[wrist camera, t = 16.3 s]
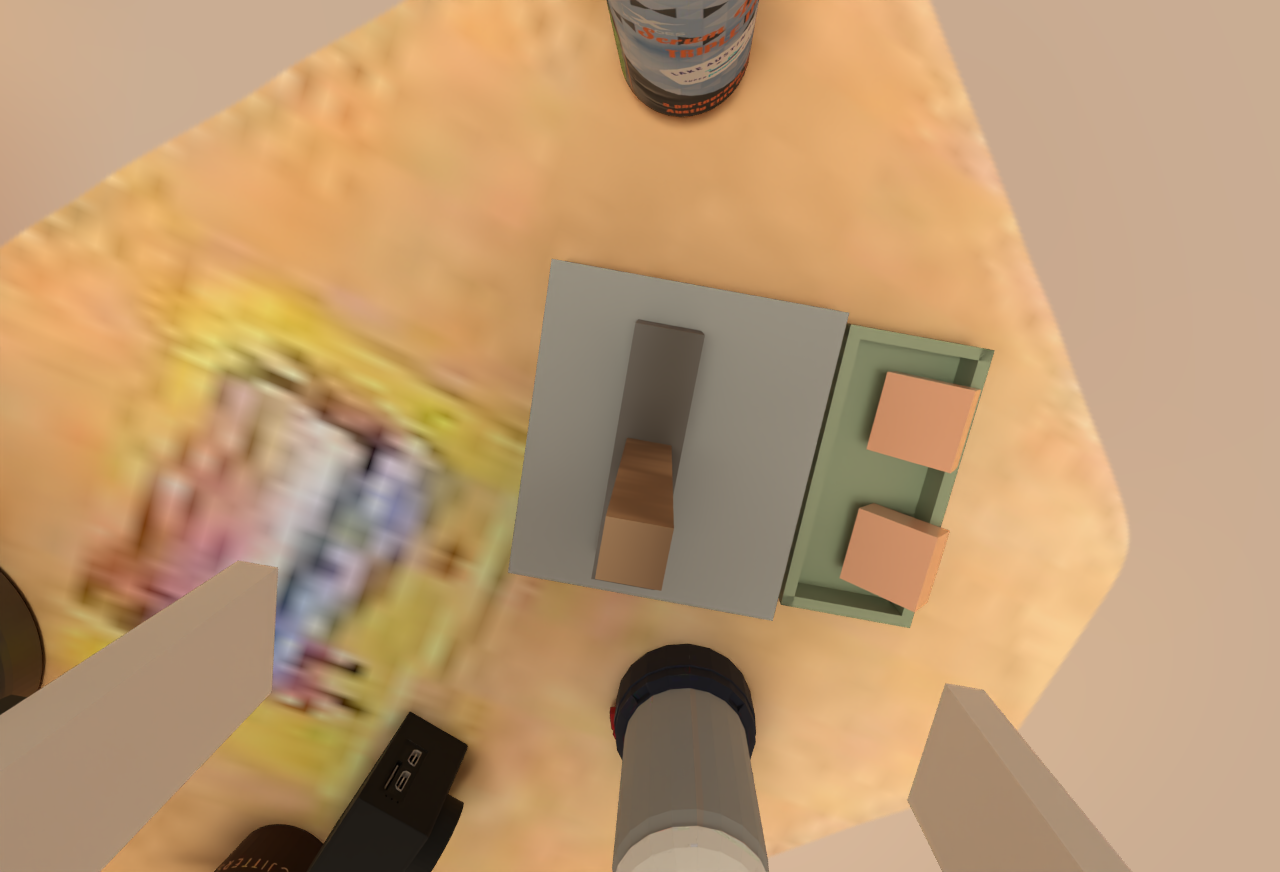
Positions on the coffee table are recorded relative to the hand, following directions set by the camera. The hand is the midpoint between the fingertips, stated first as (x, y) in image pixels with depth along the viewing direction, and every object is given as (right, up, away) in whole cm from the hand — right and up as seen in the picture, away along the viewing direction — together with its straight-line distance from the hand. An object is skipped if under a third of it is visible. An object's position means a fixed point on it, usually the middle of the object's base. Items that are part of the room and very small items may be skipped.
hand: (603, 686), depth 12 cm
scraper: (+1, +4, +19) cm, 19 cm away
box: (+13, +3, +22) cm, 26 cm away
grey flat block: (+2, +5, +22) cm, 23 cm away
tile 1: (+13, -1, +20) cm, 24 cm away
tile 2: (+14, +6, +18) cm, 24 cm away
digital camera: (-14, -18, +28) cm, 36 cm away
